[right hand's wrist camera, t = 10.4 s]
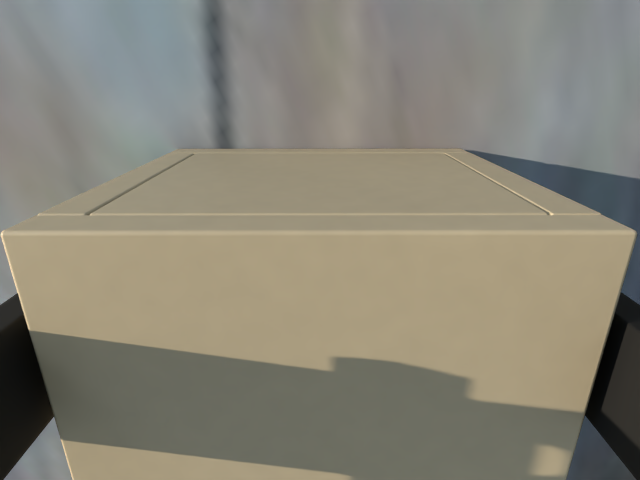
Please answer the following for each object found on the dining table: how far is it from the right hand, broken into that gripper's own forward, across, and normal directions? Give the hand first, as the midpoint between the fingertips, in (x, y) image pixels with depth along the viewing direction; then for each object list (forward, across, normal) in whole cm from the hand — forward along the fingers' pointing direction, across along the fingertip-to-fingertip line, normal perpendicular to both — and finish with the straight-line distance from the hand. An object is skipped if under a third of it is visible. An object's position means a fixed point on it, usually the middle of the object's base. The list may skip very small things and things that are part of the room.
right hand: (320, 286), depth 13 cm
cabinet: (+6, 0, -7) cm, 9 cm away
